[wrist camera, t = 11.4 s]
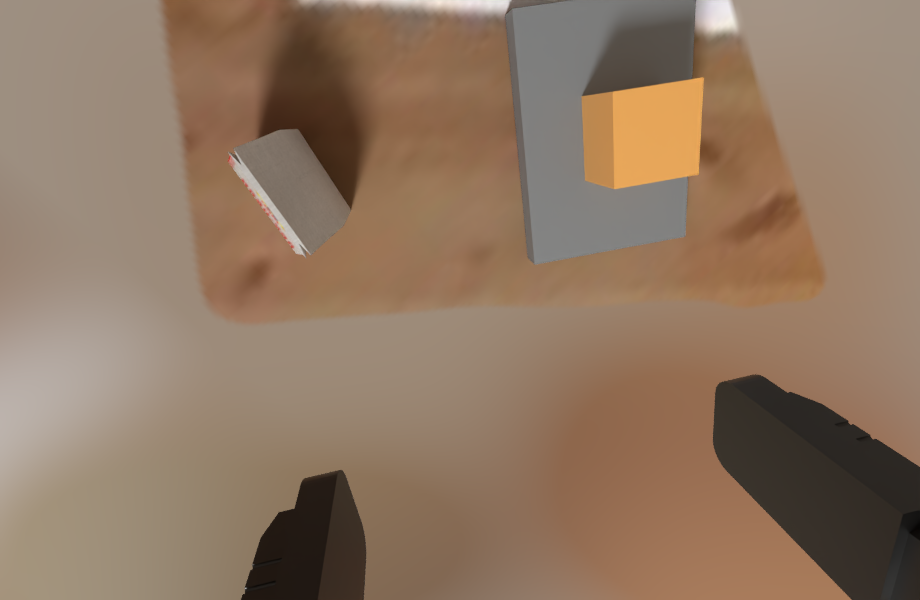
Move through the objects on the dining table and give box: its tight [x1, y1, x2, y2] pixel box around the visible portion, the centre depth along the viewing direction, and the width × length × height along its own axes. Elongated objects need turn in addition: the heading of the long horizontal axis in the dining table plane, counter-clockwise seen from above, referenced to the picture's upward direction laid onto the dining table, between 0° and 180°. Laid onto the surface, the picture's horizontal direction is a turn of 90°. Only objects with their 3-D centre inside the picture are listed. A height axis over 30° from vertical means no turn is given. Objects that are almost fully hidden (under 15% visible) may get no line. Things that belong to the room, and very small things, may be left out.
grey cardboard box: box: [228, 129, 351, 258], centre depth 30 cm, size 4×7×10 cm, turn 29°
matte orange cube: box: [582, 77, 704, 189], centre depth 32 cm, size 6×6×5 cm
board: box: [505, 0, 696, 264], centre depth 33 cm, size 18×13×6 cm
